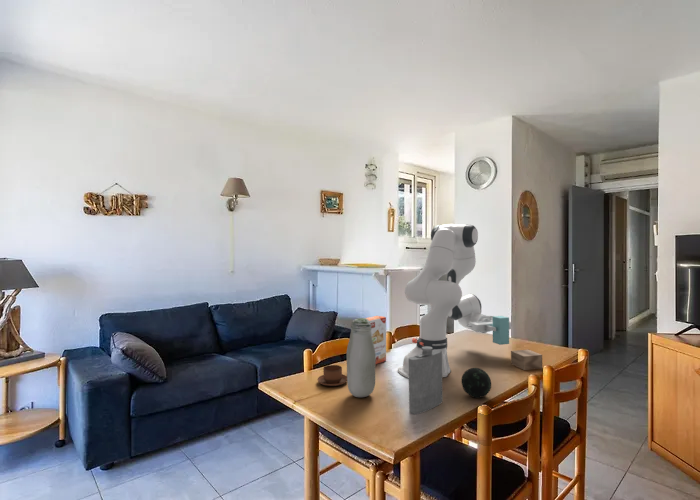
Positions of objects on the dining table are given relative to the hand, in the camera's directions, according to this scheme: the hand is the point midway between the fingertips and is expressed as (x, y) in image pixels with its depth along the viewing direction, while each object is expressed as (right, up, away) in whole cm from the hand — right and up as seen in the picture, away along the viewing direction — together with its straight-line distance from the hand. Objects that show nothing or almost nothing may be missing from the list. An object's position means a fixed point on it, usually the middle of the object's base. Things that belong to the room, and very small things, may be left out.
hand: (502, 328), depth 178 cm
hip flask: (-44, -16, -48) cm, 67 cm away
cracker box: (-59, -16, +1) cm, 62 cm away
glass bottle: (-66, -17, -38) cm, 78 cm away
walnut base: (+8, -15, -7) cm, 19 cm away
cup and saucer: (-77, -17, -24) cm, 82 cm away
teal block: (0, -7, +1) cm, 7 cm away
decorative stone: (-25, -16, -40) cm, 50 cm away
